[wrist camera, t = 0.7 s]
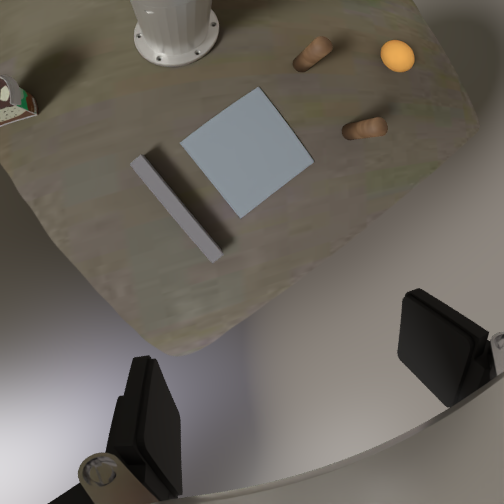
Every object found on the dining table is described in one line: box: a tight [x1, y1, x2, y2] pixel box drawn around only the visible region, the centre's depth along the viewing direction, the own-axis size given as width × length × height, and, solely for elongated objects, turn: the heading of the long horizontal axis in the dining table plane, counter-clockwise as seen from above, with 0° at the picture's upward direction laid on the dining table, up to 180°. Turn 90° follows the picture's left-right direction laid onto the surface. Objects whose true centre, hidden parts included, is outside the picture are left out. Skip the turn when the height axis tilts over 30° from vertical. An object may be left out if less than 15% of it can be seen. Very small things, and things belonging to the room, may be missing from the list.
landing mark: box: [180, 87, 314, 219], centre depth 42 cm, size 14×14×1 cm
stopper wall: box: [130, 155, 223, 264], centre depth 41 cm, size 18×2×2 cm, turn 37°
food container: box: [0, 74, 38, 126], centre depth 28 cm, size 12×6×10 cm, turn 91°
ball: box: [381, 40, 414, 72], centre depth 38 cm, size 6×6×6 cm
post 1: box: [293, 36, 333, 72], centre depth 35 cm, size 3×3×9 cm
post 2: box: [342, 117, 388, 140], centre depth 39 cm, size 3×3×9 cm
